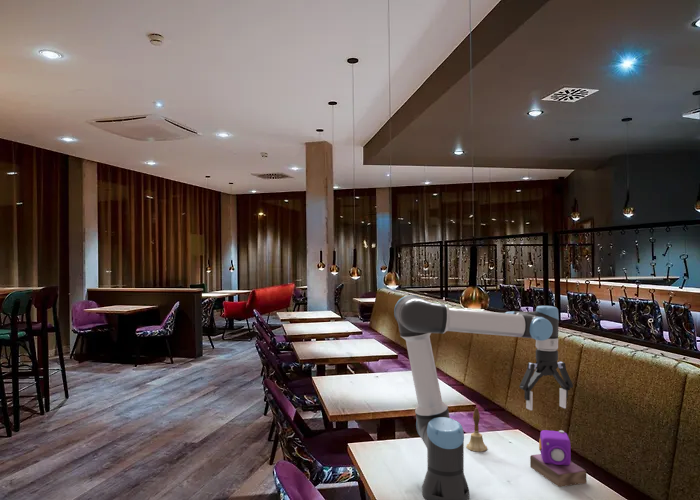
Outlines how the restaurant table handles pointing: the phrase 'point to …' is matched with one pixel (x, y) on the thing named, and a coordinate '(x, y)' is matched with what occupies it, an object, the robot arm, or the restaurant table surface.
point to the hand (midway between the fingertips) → (546, 408)
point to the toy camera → (555, 447)
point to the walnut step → (558, 472)
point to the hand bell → (476, 436)
